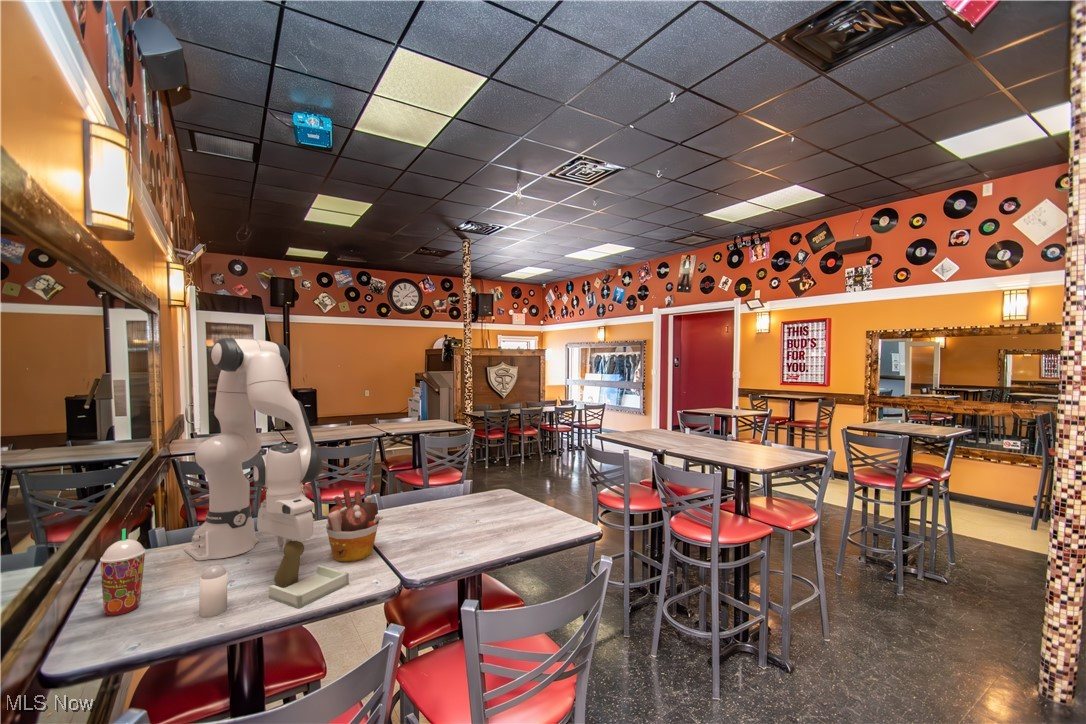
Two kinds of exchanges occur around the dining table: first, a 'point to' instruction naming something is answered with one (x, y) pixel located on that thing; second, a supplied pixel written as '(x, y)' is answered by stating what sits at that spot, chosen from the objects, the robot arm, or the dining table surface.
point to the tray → (310, 587)
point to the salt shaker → (213, 591)
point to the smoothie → (122, 575)
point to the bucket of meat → (352, 527)
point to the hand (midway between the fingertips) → (283, 551)
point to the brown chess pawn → (289, 564)
